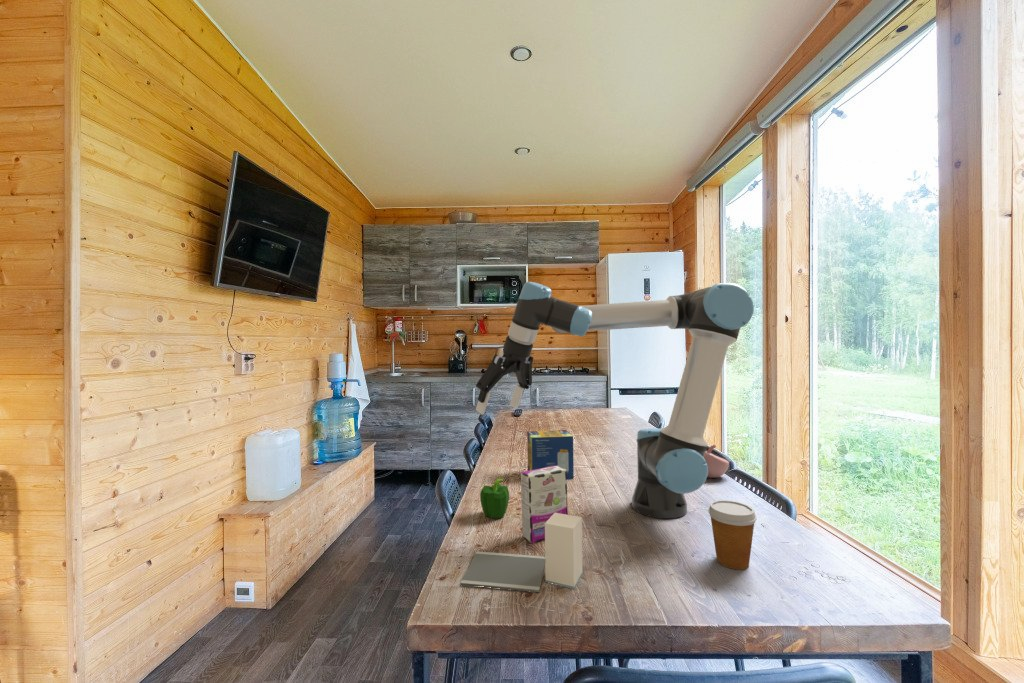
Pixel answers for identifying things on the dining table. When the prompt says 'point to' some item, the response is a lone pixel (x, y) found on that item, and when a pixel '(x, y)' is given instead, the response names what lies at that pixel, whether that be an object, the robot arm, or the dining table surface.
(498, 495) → the bell pepper
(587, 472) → the dining table surface
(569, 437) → the protein box
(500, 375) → the robot arm
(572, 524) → the cream block
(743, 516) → the disposable coffee cup
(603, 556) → the dining table surface
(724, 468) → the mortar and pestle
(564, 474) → the candy bar box
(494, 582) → the gray plastic tray
